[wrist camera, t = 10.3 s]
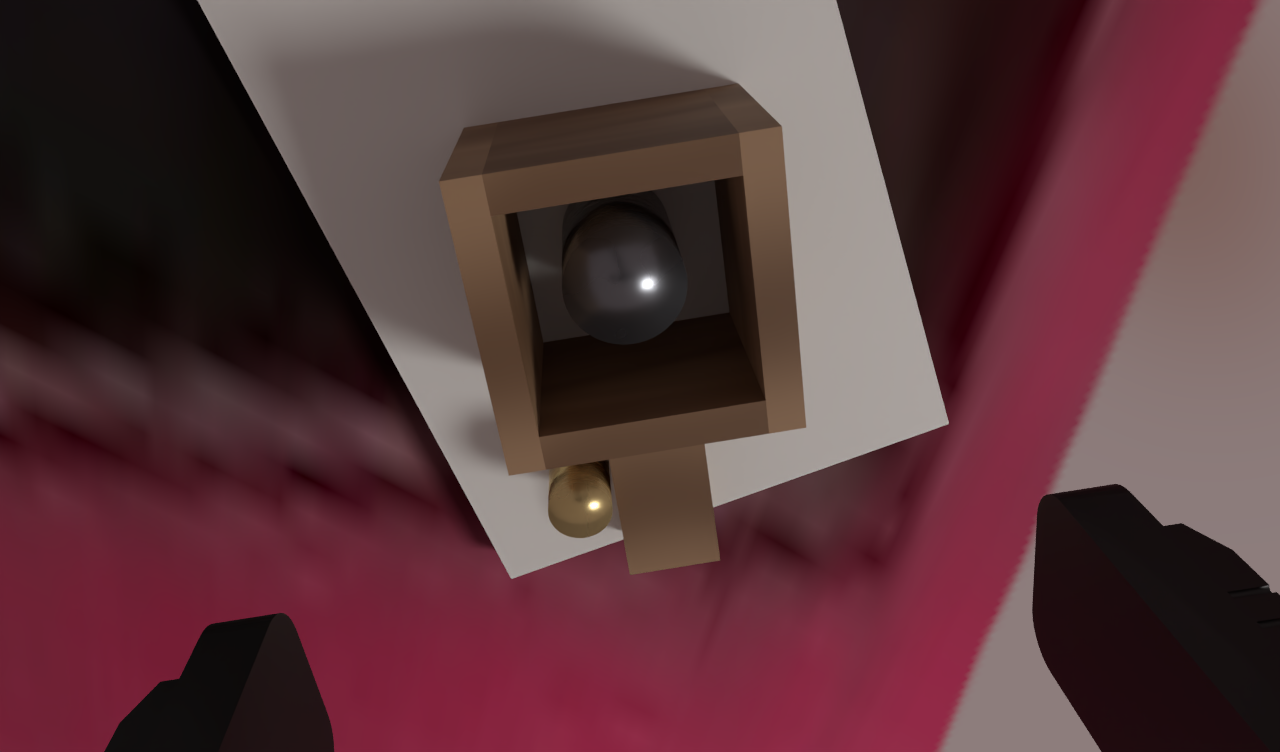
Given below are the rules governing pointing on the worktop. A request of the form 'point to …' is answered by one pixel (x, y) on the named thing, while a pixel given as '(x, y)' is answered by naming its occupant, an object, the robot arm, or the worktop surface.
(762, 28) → the board
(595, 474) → the dowel
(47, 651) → the worktop surface
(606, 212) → the post
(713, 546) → the open wooden box
